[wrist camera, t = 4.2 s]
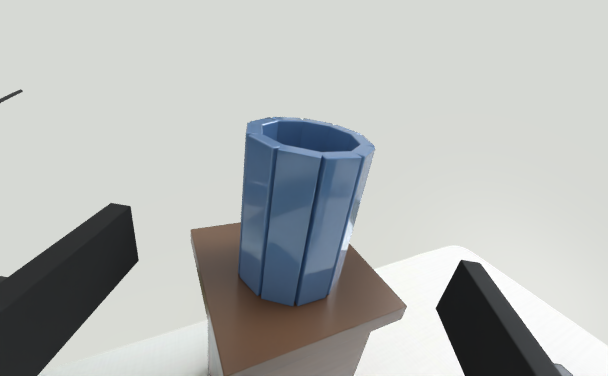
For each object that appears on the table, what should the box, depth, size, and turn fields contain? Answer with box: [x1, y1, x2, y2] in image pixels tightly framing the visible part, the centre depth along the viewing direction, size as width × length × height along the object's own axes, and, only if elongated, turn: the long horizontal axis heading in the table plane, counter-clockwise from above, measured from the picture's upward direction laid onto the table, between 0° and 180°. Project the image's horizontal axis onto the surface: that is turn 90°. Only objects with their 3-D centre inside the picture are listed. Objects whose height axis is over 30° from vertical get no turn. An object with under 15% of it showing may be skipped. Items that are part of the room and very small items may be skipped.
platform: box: [191, 223, 407, 376], centre depth 22 cm, size 11×11×16 cm
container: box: [238, 117, 375, 306], centre depth 17 cm, size 7×7×9 cm
